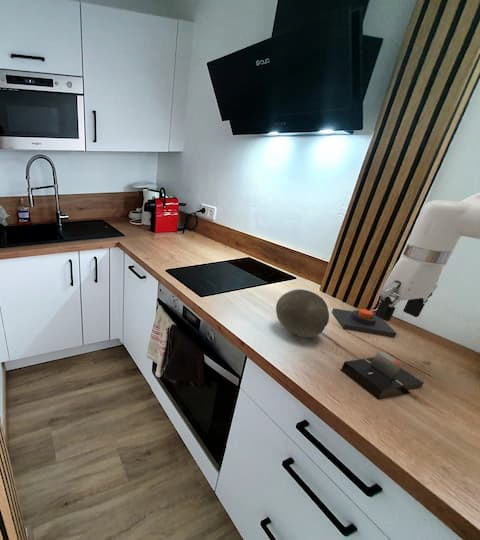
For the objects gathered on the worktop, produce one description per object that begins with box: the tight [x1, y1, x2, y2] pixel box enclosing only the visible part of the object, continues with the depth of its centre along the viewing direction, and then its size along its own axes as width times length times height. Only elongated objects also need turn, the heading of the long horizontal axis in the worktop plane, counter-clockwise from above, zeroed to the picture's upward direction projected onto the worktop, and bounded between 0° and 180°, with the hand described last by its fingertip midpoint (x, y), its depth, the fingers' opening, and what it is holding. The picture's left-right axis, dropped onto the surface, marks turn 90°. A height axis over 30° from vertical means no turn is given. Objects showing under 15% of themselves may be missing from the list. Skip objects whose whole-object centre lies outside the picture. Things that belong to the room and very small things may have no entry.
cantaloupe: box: [275, 288, 330, 338], centre depth 90 cm, size 14×14×15 cm
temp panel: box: [340, 356, 425, 400], centre depth 74 cm, size 13×10×3 cm
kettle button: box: [358, 308, 374, 319], centre depth 95 cm, size 4×4×2 cm
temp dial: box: [371, 350, 403, 379], centre depth 73 cm, size 5×2×5 cm, turn 12°
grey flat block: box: [331, 307, 398, 339], centre depth 96 cm, size 14×11×5 cm
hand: (396, 316), depth 74 cm, fingers open, 9 cm apart
